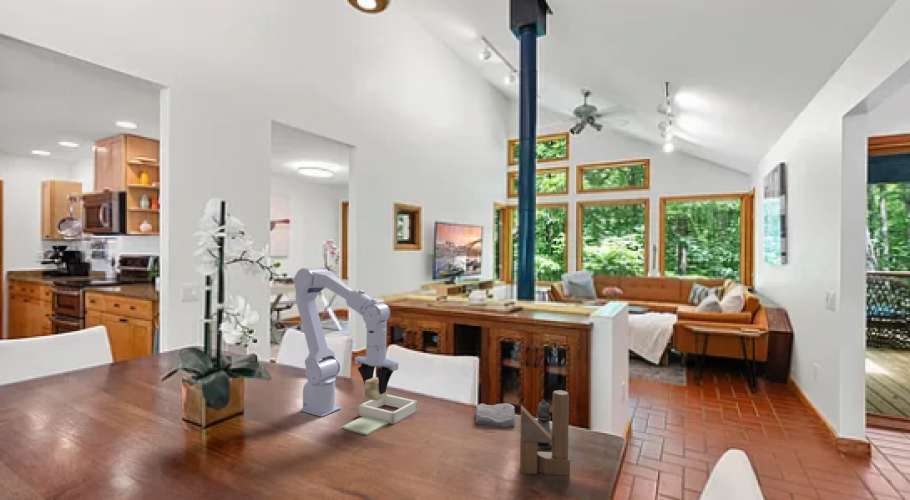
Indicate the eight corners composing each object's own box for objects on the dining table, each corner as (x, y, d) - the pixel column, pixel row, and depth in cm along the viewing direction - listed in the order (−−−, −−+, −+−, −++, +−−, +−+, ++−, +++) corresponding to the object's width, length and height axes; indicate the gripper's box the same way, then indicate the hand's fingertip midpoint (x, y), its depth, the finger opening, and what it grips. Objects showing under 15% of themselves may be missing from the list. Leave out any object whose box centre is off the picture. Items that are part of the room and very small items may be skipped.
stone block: (517, 434, 119) (514, 414, 129) (516, 419, 118) (514, 400, 128) (474, 434, 120) (475, 414, 130) (474, 418, 119) (475, 399, 129)
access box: (358, 415, 127) (359, 405, 127) (384, 402, 137) (384, 393, 137) (393, 424, 120) (393, 413, 121) (417, 410, 131) (417, 401, 131)
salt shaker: (541, 452, 104) (542, 404, 104) (527, 443, 110) (527, 396, 110) (559, 447, 107) (560, 400, 107) (544, 438, 112) (545, 393, 112)
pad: (342, 428, 117) (342, 426, 117) (364, 417, 125) (364, 415, 125) (367, 435, 113) (367, 433, 113) (388, 423, 121) (388, 421, 121)
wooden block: (520, 465, 98) (520, 388, 98) (567, 468, 97) (568, 389, 97) (521, 474, 94) (522, 393, 94) (570, 476, 93) (571, 395, 93)
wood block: (364, 398, 122) (365, 380, 122) (374, 393, 126) (375, 376, 126) (377, 400, 120) (377, 383, 120) (386, 396, 124) (387, 379, 124)
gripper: (404, 345, 123) (404, 391, 123) (366, 339, 130) (365, 383, 130) (390, 349, 117) (389, 399, 117) (350, 343, 124) (349, 390, 124)
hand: (375, 391), depth 123 cm, fingers closed on wood block, 4 cm apart
